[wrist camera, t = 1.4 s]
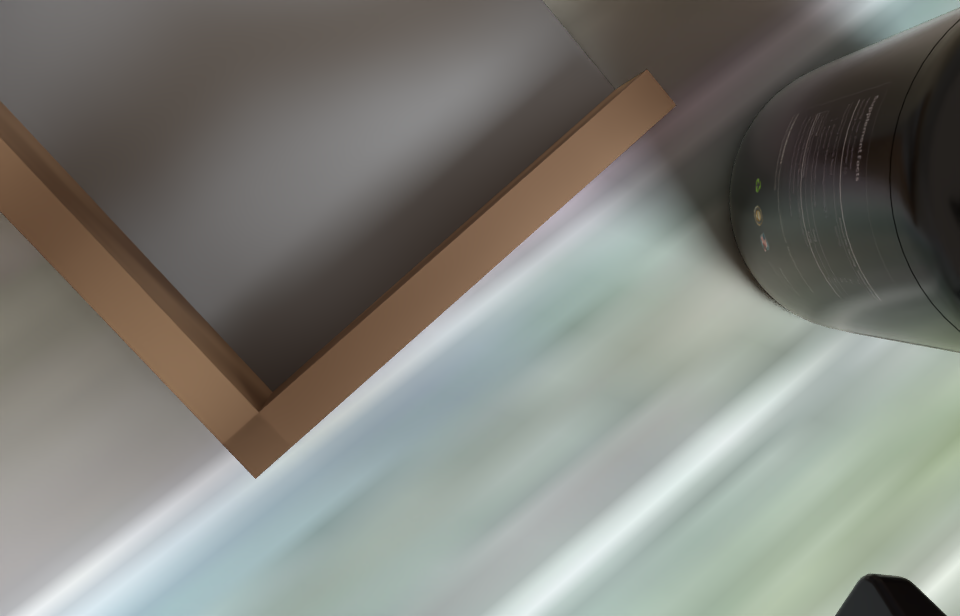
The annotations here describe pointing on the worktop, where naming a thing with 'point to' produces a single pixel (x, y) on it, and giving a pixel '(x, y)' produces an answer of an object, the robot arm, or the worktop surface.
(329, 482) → the worktop surface
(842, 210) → the supplement bottle
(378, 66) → the bay
